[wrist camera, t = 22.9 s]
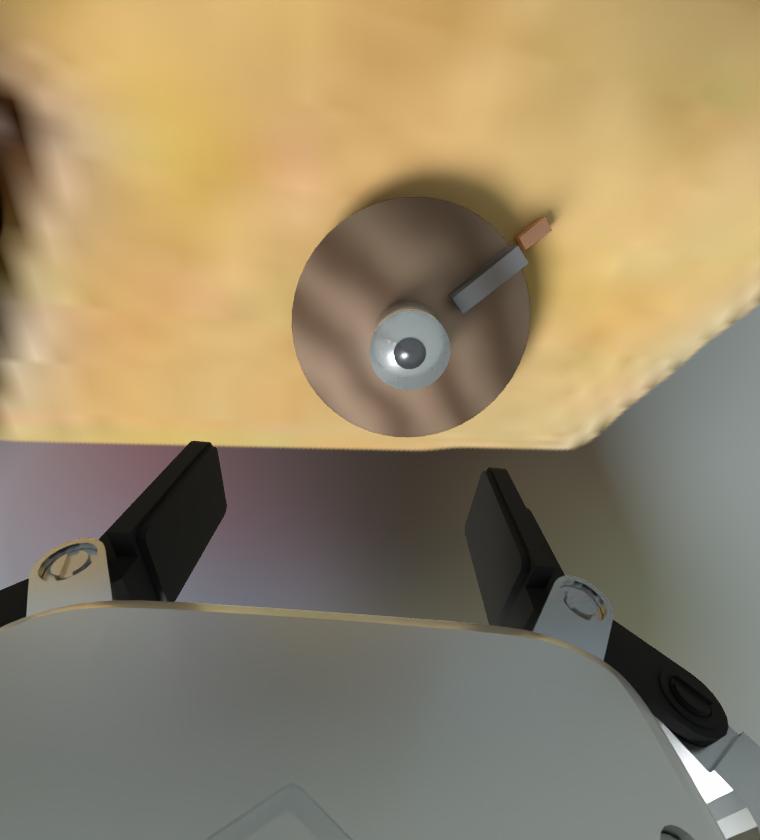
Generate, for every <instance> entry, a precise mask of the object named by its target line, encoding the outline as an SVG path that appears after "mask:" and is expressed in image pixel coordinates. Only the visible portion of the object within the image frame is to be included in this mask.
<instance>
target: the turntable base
mask: <svg viewBox="0 0 760 840" xmlns="http://www.w3.org/2000/svg"><path fill="white" fill-rule="evenodd" d="M551 230H552V229H551V227H550V225H549V223H548V221H547V219H546V217H542V218H539V219H538V220H537V221H535V222H534V223H533V224H532V225H530V226H529V227H528V228H526V229H525V230H524V231H523V232H521V233H520V234H519V235H518V236H516V237H515V239H516V241H517V243H518V245H519V246H520V248H521V250H526V249H528V248H529V247H530V246H532V245H533V244H534V243H536V242H537V241H538V240H540V239H541V238H542V237H543V236H545V235H546V234H547V233H549V232H550V231H551Z"/></svg>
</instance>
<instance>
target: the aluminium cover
mask: <svg viewBox="0 0 760 840" xmlns="http://www.w3.org/2000/svg"><path fill="white" fill-rule="evenodd" d="M369 354H370V361H371V365H372V367H373V369H374V371H375V373H376V374H377V376H378V377H379V378H380V379H381V380H382V381H383V382H385V383H386V384H388V385H389V386H391V387H394V388H397V389H400V390H417V389H421V388H424V387H426V386H428V385H430V384H432V383H433V382H434V381H436V380H437V379H438V378H439V377H440V376H441V375H442V373H443V372H444V370H445V369H446V367H447V364H448V362H449V358H450V342H449V338H448V335H447V333H446V331H445V329H444V328H443V326H442V324H441V322H440V320H439V319H438V317H437V315H436V314H435V313H434V311H433V310H431V309H430V308H429V307H428V306H426V305H424V304H422V303H419V302H416V301H402V302H398V303H395V304H393V305H391V306H389V307H388V308H386V309H385V310H384V311H383V312H382V313H381V315H380V316H379V317H378V319H377V321H376V323H375V326H374V329H373V334H372V339H371V343H370V352H369Z"/></svg>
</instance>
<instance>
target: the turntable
mask: <svg viewBox="0 0 760 840" xmlns="http://www.w3.org/2000/svg"><path fill="white" fill-rule="evenodd" d="M527 264H528V261H527V260H526V258H525V256H524V255H523V253H522V251H521V249H520V248H519V246H518V245H508V243H507V242H506V241H505V239H504V238H503V237H502V236H501V235H500V234H499V233H498V232H497V231H496V230H495V229H494V227H493V226H491V225H490V224H489V223H487V222H486V221H485V220H484V219H482V218H481V217H480V216H478V215H477V214H475V213H473V212H471V211H469V210H467V209H466V208H464V207H462V206H459V205H456V204H453V203H450V202H447V201H444V200H438V199H433V198H427V197H405V198H398V199H390V200H387V201H383V202H380V203H377V204H373V205H371V206H369V207H367V208H364V209H362V210H360V211H358V212H356V213H354V214H353V215H351V216H350V217H348V218H347V219H345V220H344V221H342V222H341V223H340V224H338V225H337V226H336V227H335V228H334V229H333V230H332V231H331V232H330V233H328V234H327V235H326V237H325V238H324V239H323V240H322V241H321V243H320V244H319V245H318V246H317V247H316V248H315V250H314V252H313V253H312V255H311V257H310V258H309V260H308V261H307V263H306V265H305V267H304V270H303V272H302V274H301V276H300V278H299V282H298V285H297V288H296V292H295V296H294V302H293V309H292V333H293V342H294V346H295V350H296V354H297V358H298V360H299V363H300V366H301V368H302V371H303V373H304V374H305V376H306V378H307V380H308V382H309V384H310V385H311V386H312V388H313V389H314V391H315V392H316V394H317V395H318V396H319V397H320V398H321V399H322V400H323V402H324V403H325V404H326V405H327V406H328V407H330V408H331V409H332V410H333V411H334V412H335V413H337V414H338V415H339V416H341V417H342V418H344V419H345V420H347V421H349V422H350V423H352V424H354V425H356V426H358V427H360V428H363V429H365V430H368V431H370V432H374V433H378V434H382V435H387V436H394V437H419V436H426V435H432V434H436V433H440V432H443V431H446V430H449V429H452V428H454V427H456V426H458V425H461V424H463V423H464V422H466V421H468V420H470V419H471V418H473V417H474V416H476V415H477V414H479V413H480V412H481V411H483V410H484V409H485V408H486V407H487V406H488V405H490V404H491V403H492V402H493V401H494V400H495V399H496V398H497V397H498V395H499V394H500V393H501V392H502V391H503V390H504V388H505V387H506V385H507V384H508V383H509V381H510V380H511V378H512V377H513V375H514V373H515V371H516V369H517V367H518V365H519V363H520V361H521V358H522V355H523V353H524V350H525V346H526V342H527V338H528V334H529V325H530V300H529V294H528V288H527V283H526V280H525V277H524V274H523V271H522V268H523V267H525V266H526V265H527ZM402 301H416V302H419V303H422V304H424V305H426V306H428V307H429V308H430V309H431V310H433V311H434V313H435V314H436V315H437V317H438V319H439V320H440V322H441V324H442V326H443V328H444V329H445V331H446V333H447V335H448V338H449V342H450V358H449V362H448V364H447V367H446V369H445V370H444V372H443V373H442V375H441V376H440V377H439V378H438V379H437V380H436V381H434V382H433V383H432V384H430V385H428V386H426V387H424V388H421V389H417V390H400V389H397V388H394V387H391V386H389V385H388V384H386V383H385V382H383V381H382V380H381V379H380V378H379V377H378V376H377V374H376V373H375V371H374V369H373V367H372V365H371V361H370V354H369V352H370V343H371V339H372V334H373V329H374V326H375V323H376V321H377V319H378V317H379V316H380V315H381V313H382V312H383V311H384V310H385V309H386V308H388V307H389V306H391V305H393V304H395V303H398V302H402Z"/></svg>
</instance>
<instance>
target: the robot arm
mask: <svg viewBox="0 0 760 840" xmlns="http://www.w3.org/2000/svg"><path fill="white" fill-rule="evenodd" d="M226 507H227V504H226V498H225V493H224V486H223V480H222V475H221V469H220V463H219V457H218V451H217V448H216V447H213V446H212V444H211V443H210V442H200V441H191V442H190V443H189V444H188V445H187V446H186V447H185V448H184V449H183V450H182V452H181V453H180V454H179V455H178V456H177V457H176V458H175V459H174V460H173V461H172V462H171V463H170V464H169V465H168V466H167V467H166V468H165V470H164V471H163V472H162V473H161V474H160V475H159V476H158V477H157V478H156V479H155V480H154V481H153V482H152V483H151V484H150V485H149V486H148V488H147V489H146V490H145V491H144V492H143V493H142V494H141V495H140V496H139V497H138V498H137V499H136V500H135V501H134V503H132V505H131V506H130V507H129V508H128V509H127V510H126V511H125V512H124V513H123V514H122V515H121V516H120V517H119V518H118V519H117V520H116V522H115V523H114V524H113V525H112V526H111V527H110V528H109V529H108V530H107V531H106V532H105V533H104V534H103V535H102V536H101V538H100V539H99V540H98V539H93V538H83V539H77V540H73V541H70V542H67V543H64V544H62V545H60V546H57V547H55V548H54V549H52V550H51V551H49V552H47V553H46V554H45V555H43V556H42V557H41V558H40V559H39V560H38V561H37V562H36V563H35V565H34V566H33V567H32V569H31V572H30V575H29V579H26V580H24V581H21V582H19V583H17V584H14V585H12V586H10V587H7V588H5V589H2V590H0V840H760V747H759V746H758V745H757V744H756V743H755V742H754V741H753V740H752V739H751V738H750V737H749V736H748V735H746V734H745V733H744V732H742V733H740V734H738V733H737V732H735V731H734V730H733V729H732V728H731V727H730V726H729V725H728V721H727V717H726V714H725V712H724V710H723V708H722V706H721V705H720V703H719V702H718V700H717V699H716V697H715V696H714V695H713V693H712V692H711V691H710V690H709V689H708V688H707V687H706V686H705V685H704V684H703V683H702V682H701V681H699V680H698V679H697V678H696V677H694V676H693V675H692V674H691V673H689V672H688V671H686V670H685V669H684V668H682V667H681V666H679V665H678V664H676V663H675V662H673V661H672V660H670V659H669V658H667V657H666V656H665V655H663V654H662V653H660V652H659V651H657V650H656V649H655V648H653V647H652V646H650V645H649V644H647V643H646V642H644V641H643V640H642V639H640V638H639V637H637V636H636V635H634V634H633V633H631V632H630V631H629V630H627V629H626V628H624V627H623V626H621V625H620V624H618V623H617V622H616V621H614V620H613V611H612V608H611V605H610V603H609V602H608V600H607V599H606V598H605V596H604V595H603V594H602V593H601V592H600V591H599V590H598V589H597V588H596V587H595V586H593V585H592V584H590V583H589V582H587V581H585V580H583V579H581V578H578V577H574V576H565V575H564V573H563V571H562V569H561V567H560V565H559V563H558V562H557V560H556V558H555V556H554V554H553V552H552V550H551V548H550V546H549V545H548V543H547V541H546V539H545V537H544V535H543V533H542V531H541V529H540V527H539V526H538V524H537V522H536V520H535V518H534V516H533V514H532V513H531V511H530V510H529V509H528V508H526V507H525V505H524V503H523V501H522V499H521V497H520V495H519V493H518V492H517V489H516V487H515V485H514V483H513V482H512V480H511V478H510V476H509V474H508V472H507V470H506V469H501V468H488V469H487V471H483V472H482V474H481V476H480V479H479V483H478V486H477V489H476V492H475V495H474V498H473V502H472V505H471V508H470V511H469V514H468V517H467V521H466V524H465V536H466V539H467V543H468V547H469V551H470V554H471V558H472V562H473V566H474V569H475V573H476V577H477V581H478V584H479V588H480V592H481V596H482V599H483V603H484V607H485V611H486V614H487V618H488V622H489V625H483V624H471V623H462V622H451V621H439V620H425V619H412V618H400V617H388V616H375V615H361V614H347V613H334V612H318V611H306V610H291V609H278V608H262V607H246V606H232V605H218V604H203V603H185V602H175V600H176V599H177V597H178V595H179V593H180V592H181V590H182V588H183V586H184V585H185V583H186V581H187V579H188V578H189V576H190V574H191V572H192V571H193V569H194V567H195V565H196V564H197V562H198V560H199V558H200V557H201V555H202V553H203V552H204V550H205V548H206V546H207V545H208V543H209V541H210V539H211V537H212V536H213V534H214V532H215V531H216V529H217V527H218V525H219V524H220V522H221V520H222V518H223V517H224V515H225V512H226Z"/></svg>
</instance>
